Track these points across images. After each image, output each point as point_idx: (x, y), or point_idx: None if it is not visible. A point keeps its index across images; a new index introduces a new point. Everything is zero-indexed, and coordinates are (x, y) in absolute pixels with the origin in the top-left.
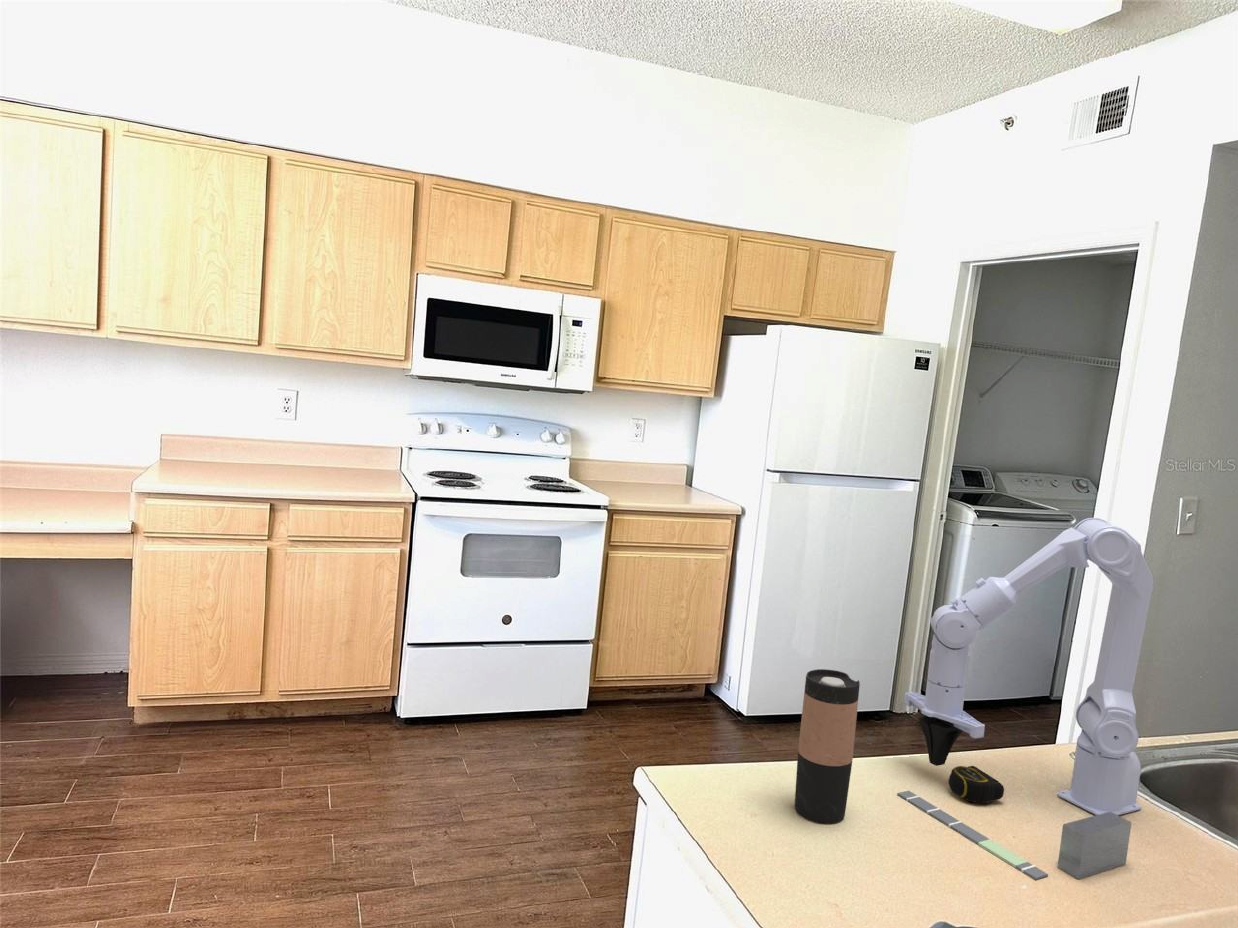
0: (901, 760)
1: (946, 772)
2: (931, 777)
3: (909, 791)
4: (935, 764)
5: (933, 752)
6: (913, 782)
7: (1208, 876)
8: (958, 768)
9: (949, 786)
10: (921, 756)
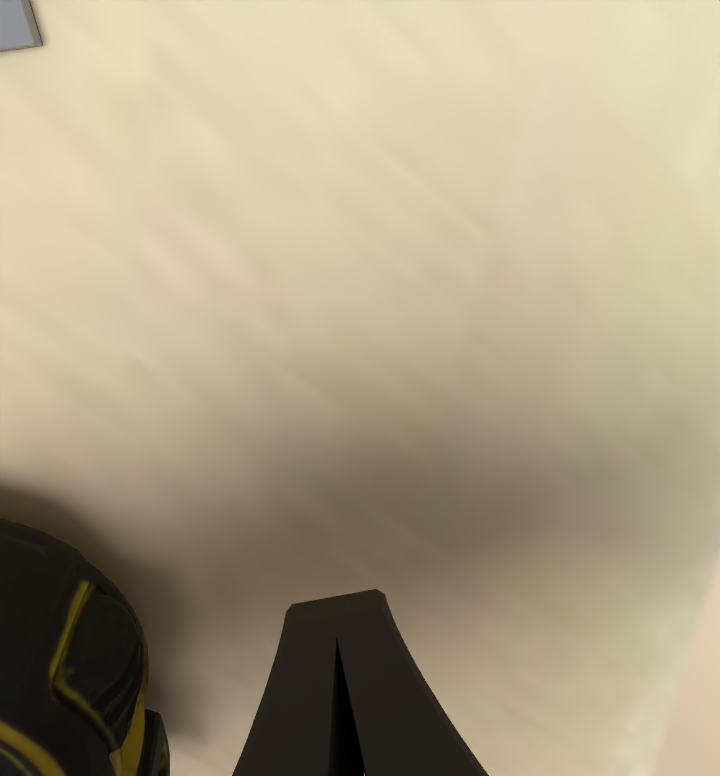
0: (700, 452)
1: None
2: (343, 515)
3: (10, 35)
4: (291, 612)
5: (315, 707)
6: (278, 280)
7: None
8: (21, 763)
9: (38, 534)
10: (684, 643)
